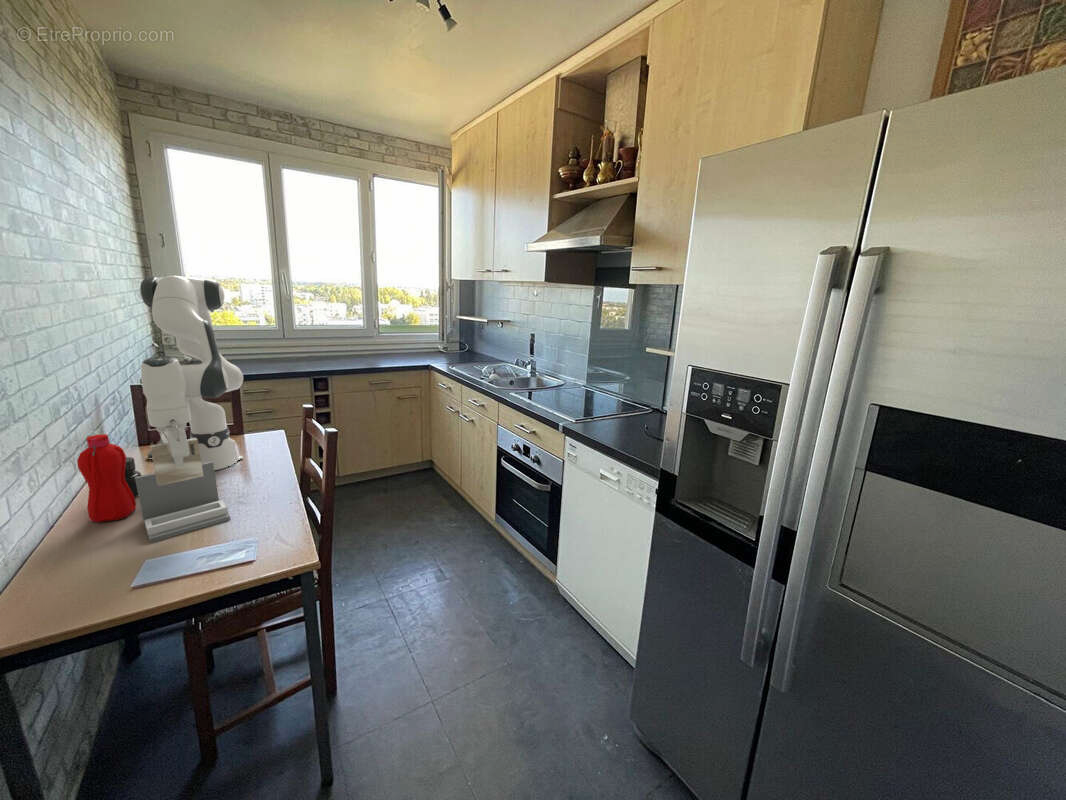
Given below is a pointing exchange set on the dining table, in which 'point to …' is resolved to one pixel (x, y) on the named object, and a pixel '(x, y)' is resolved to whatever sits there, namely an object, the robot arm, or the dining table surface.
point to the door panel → (166, 465)
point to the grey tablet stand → (180, 504)
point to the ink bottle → (131, 475)
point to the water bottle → (105, 480)
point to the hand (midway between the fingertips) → (178, 464)
